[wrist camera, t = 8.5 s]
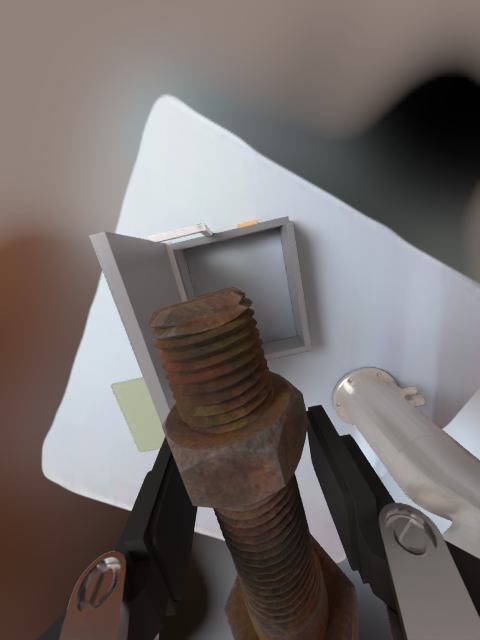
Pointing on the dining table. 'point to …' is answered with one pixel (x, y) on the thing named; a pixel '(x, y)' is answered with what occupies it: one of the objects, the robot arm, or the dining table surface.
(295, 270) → the case
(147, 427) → the mat
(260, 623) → the bolt
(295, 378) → the dining table surface
